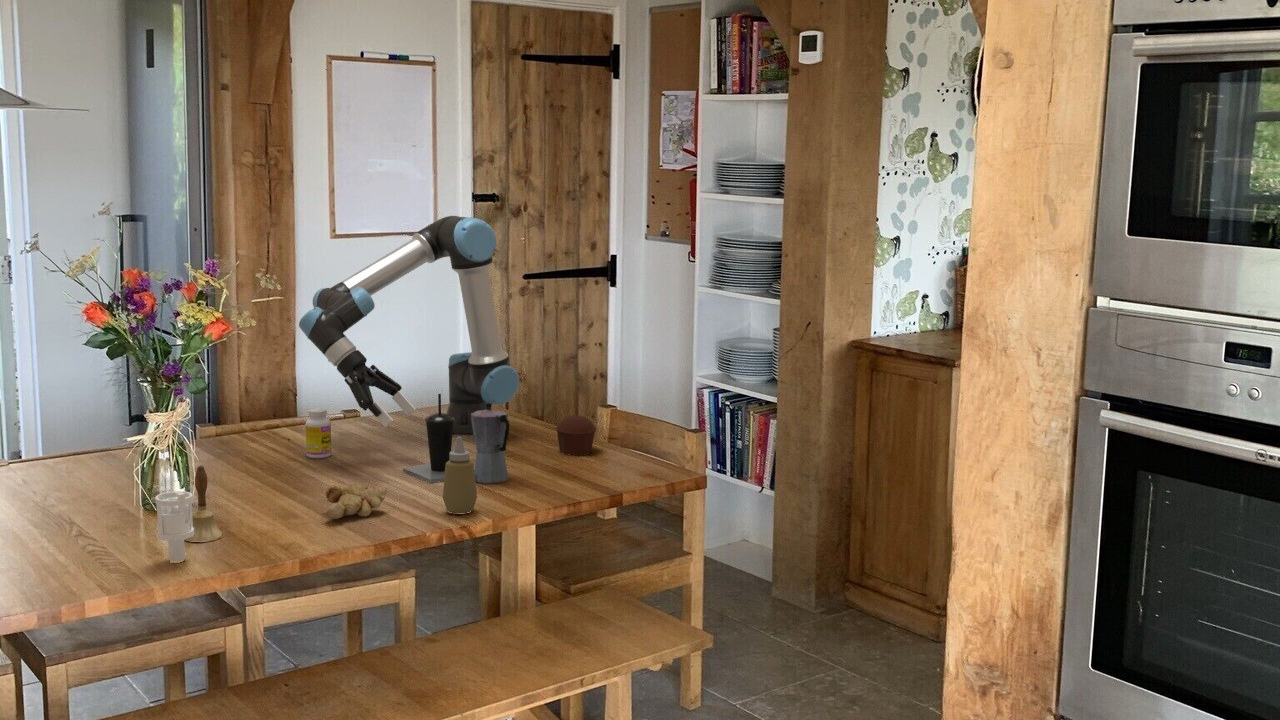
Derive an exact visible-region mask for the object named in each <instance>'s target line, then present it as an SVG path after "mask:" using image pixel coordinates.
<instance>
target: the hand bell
mask: <svg viewBox="0 0 1280 720" xmlns="http://www.w3.org/2000/svg"><path fill="white" fill-rule="evenodd" d="M194 476H195V477H194V484H195V485H194V486H195V490H196V492H197V510H196V511H194V512H192V518H193V527H194V535H193V536H192V537H190V538H187V539H186V540H189V541H204V540H210V539H215V538H218V537H220V536H221V535H222V533H223V532H222V530H220V529H219V528H218V527H217V524H216V521H215V518H214V513H213V512H212V511H211V510H208V509H207V497H206V494H207V489H208V483H209V482H208V475H207V472H206V470H205V466H204V465H197V468H196V472H195V475H194Z"/></svg>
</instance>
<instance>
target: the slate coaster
mask: <svg viewBox="0 0 1280 720" xmlns="http://www.w3.org/2000/svg"><path fill="white" fill-rule="evenodd" d="M402 472H403V473H405V474H407V475H409V474H410V476H412V477H414V478H416V479H418V480H421V479H422V481H424V480H425V481H424V482H426V481H427V482H426V483H428V482H429V483H428V484H435V483H434V482H436V483H439V482H438V481H441V482H444V481H443V480H444V476H445V471H442V472H437V471H432V470H431V463H425V464H424V463H423V464H419V465H413V466H406V467H403V468H402ZM474 474H475V469H474Z"/></svg>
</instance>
